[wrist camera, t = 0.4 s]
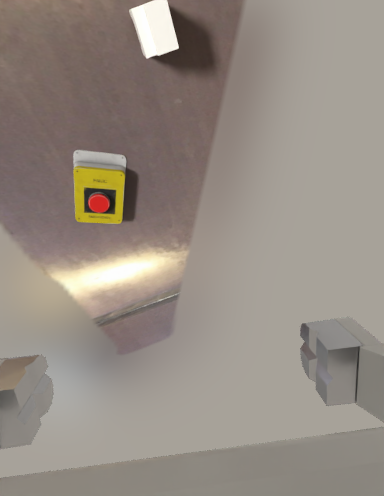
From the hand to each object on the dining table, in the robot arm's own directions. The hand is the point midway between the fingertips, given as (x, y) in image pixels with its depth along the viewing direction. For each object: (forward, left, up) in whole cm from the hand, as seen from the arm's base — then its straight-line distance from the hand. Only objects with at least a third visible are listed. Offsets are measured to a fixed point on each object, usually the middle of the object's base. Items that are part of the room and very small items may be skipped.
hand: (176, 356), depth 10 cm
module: (-3, +8, -51) cm, 51 cm away
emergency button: (+9, -17, -51) cm, 55 cm away
